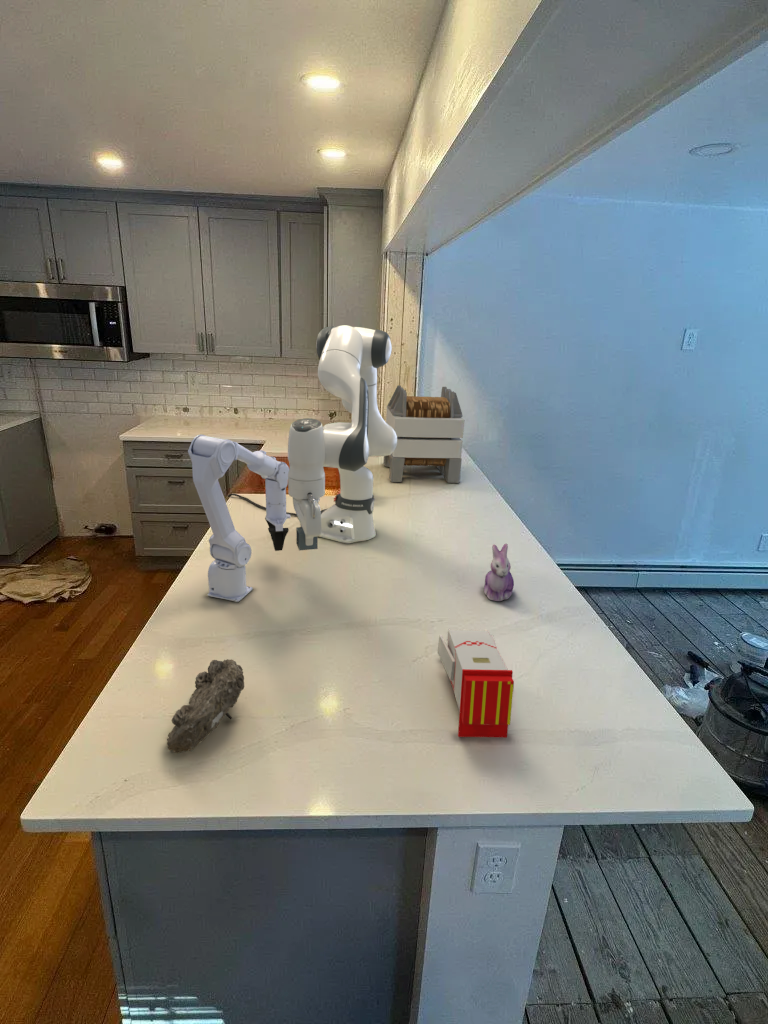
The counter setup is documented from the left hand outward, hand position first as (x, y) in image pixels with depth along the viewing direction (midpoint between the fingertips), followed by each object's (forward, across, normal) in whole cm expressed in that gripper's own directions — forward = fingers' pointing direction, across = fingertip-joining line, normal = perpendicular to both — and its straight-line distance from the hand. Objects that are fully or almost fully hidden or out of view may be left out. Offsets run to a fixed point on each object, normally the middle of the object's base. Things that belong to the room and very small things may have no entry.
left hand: (277, 545), depth 167 cm
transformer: (+8, +92, -79) cm, 122 cm away
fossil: (+8, -63, +20) cm, 66 cm away
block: (-10, -25, -5) cm, 27 cm away
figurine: (+8, -29, -58) cm, 66 cm away
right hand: (-12, -25, -5) cm, 28 cm away
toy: (+8, -67, -32) cm, 75 cm away
